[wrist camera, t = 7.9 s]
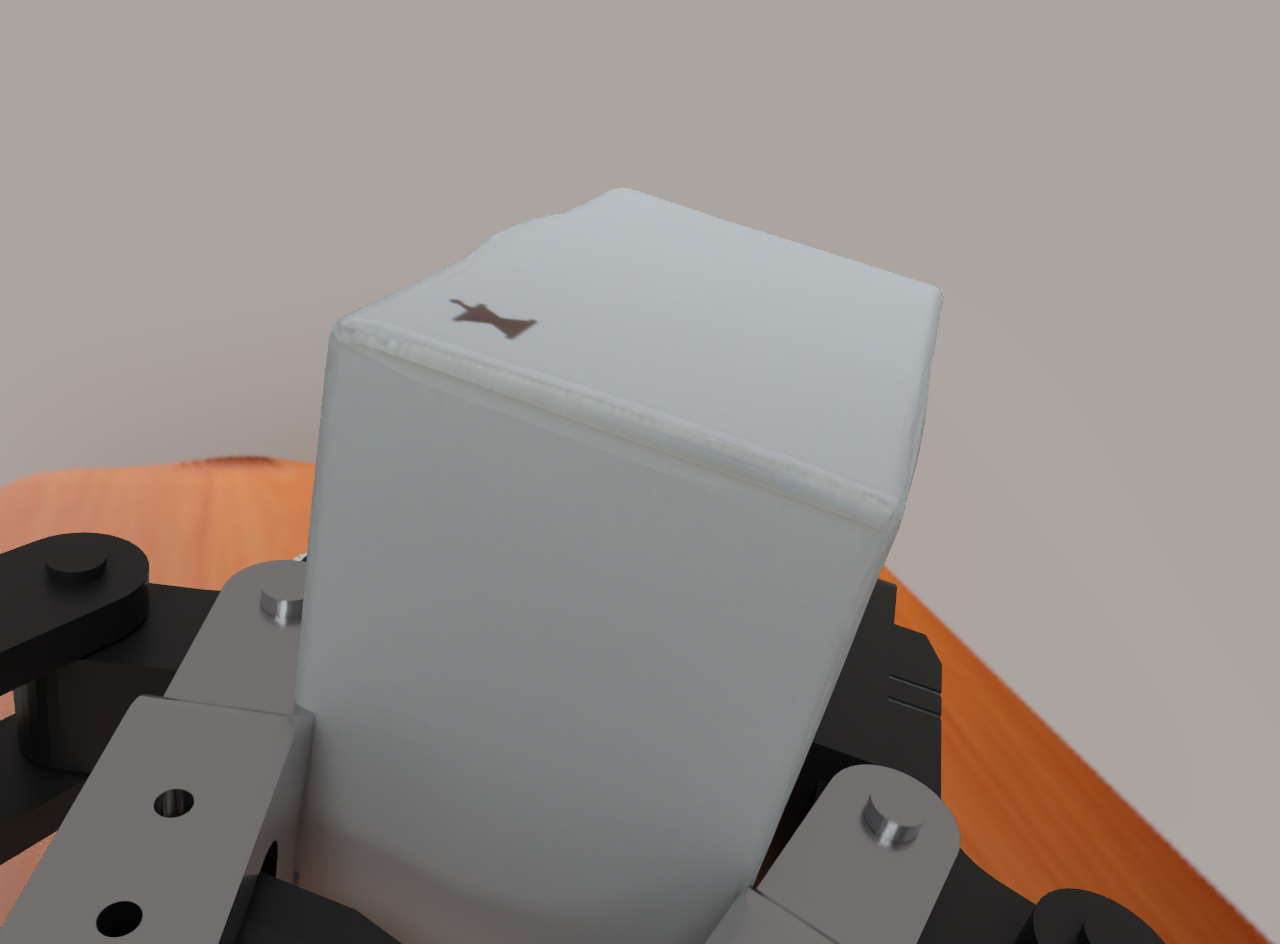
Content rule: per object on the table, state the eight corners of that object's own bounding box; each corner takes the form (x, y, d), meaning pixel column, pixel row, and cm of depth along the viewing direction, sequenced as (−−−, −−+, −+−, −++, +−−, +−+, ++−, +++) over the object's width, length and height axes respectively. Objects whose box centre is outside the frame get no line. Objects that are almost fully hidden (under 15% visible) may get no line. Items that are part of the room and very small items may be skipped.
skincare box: (557, 1397, 12) (916, 525, 6) (236, 1226, 13) (296, 307, 7) (696, 966, 17) (959, 280, 11) (463, 863, 18) (602, 172, 12)
